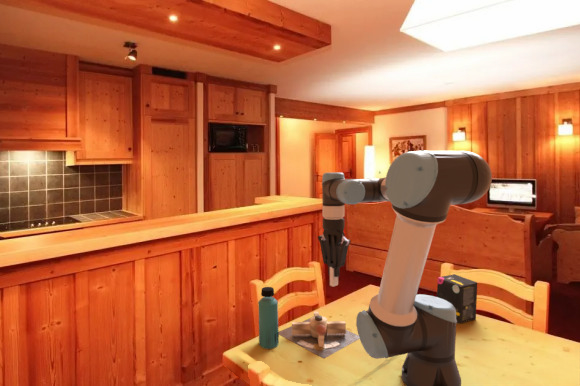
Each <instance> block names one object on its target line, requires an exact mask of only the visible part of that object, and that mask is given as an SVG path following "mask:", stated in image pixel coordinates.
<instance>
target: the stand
mask: <svg viewBox="0 0 580 386" xmlns="http://www.w3.org/2000/svg"><path fill="white" fill-rule="evenodd" d="M302 322H310V318H308V319H305V320H303V321H302ZM278 332H279V336H281V337H282V338H284V339H286V340H289V341H290V342H292V343H294V344H296V345H298V346H299V347H302V348H304V349H305V350H307V351H309V352H310V353H312V354H314V355H316V356H318V357H320V358H322V359H326V358H328V357H329V356H331V355H333V354H335V353H336V352H339V351H341V350H342V349H344V348H346V347H347V346H349V345H351V344H352V343H355V342H356V341H358V340H360V338H359V335H358V333H357V334H356V333H355V332H351V331H349V330H348V329H346V334H327V336H326V337H324V347H319V344H318V339H317V338H315V337H312V336H311V335H310V334H299V335H292V325H291V326H289V327H287V328H283V329H281V330H278Z"/></svg>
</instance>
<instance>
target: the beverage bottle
mask: <svg viewBox="0 0 580 386" xmlns="http://www.w3.org/2000/svg"><path fill="white" fill-rule="evenodd" d="M260 295H261V298H260V299H259V300H258V302H257V305H258V328H257V329H258V344H259V347H261V348H263V349H267V350H271V349H274V348H275V349H276V348H277V347H278V345H279V342H280V340H279V337H280V335H279V328H280V327H279V310H278V307H279V306H278V305H279V304H278V300H277V299H276V298H275V297H274V296H275V290H274V287H272V286H265V287H262V288H261V292H260Z"/></svg>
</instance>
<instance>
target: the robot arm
mask: <svg viewBox="0 0 580 386" xmlns="http://www.w3.org/2000/svg"><path fill="white" fill-rule="evenodd" d="M491 169H492V168H491V167H490V165H489V163H488V162H487V161H486V159H484V157H482V156H481V155H479V154H478V153H475V152H472V151H467V150H426V149H420V150H415V151H406V152H403V153H401V154H400V155H399V156H397V157H396V158H395V159H393V160H392V162H391V164H390V165H389V167H388V170H387V172H386V177H377V178H345V173H344V172H338V171H337V172H324V173H323V174H322V179H321V187H322V188H321V190H322V191H321V192H322V194H321V196H322V197H321V198H322V205H321V206H322V207H321V208H322V215H321V216H322V217H323V218H322V229H323V232H322V234H321V235H318V236H317V240H318V242H319V245H320V251H321V255H322V261H323V264H324V265H325V264H326V265H327V268H328V272H327V273H328V276H329V286H330V287H336V286H338V285H339V277H340V275H341V274H340V268H342V267H344V266H345V265H346V259H347V255H348V254H347V253H348V249H349V245H350V244H351V240H350V239H347V237H346V236H345V232H344V231H345V228H346V226H345V223H346V219H345V218H344V217H345V216H346V215H345V211H346V210H345V205H357V204H359V203H360V204H361V203H373V202H374V203H375V202H376V203H377V202H390V204H391V209H392V210H393V212H394V213H395V214H396V217H395V220H394V226H393V230H392V234H391V237H390V242H389V246H388V250H387V255H386V259H385V263H384V267H383V272H382V276H381V281H380V285H379V289H378V293H377V294H375V295H374V296H373V297H371V299H370V300H369V301H370V302H369V305H368V308H367V310H362V311H359V312H358V313H357V316H356V323H355V325H356V329H357V330H356V331H357V335H359V338H360V339H359V341H360V343H361V345H362V347H363V349H364V351H365V352H366V354H367V355H368V356H370V357H371V358H373V359H377V360H378V359H379V360H380V359H388V358H392V357H397V356H401V355H406V357H405V359H404V361H403V364H402V366H401V379H402V380H401V381H402V382H403V384H404V385H405V386H462V378H461V375H460V371H459V368H458V365H457V361H456V358H455V357H456V340H457V337H456V334H457V320H456V309H455V307H454V306H453V305H452V304H451V303H450V302H448V301H446V300H444V299H441V298H438V297H437V296H434V295H428V294H421V293H419V294H418V290H419V287H420V284H421V280H422V277H423V273H424V269H425V266H426V264H427V263H426V262H427V259H428V256H429V253H430V249H431V245H432V242H433V238H434V234H435V230H436V227H437V225H439V224H442V223H444V222H445V221H446V219H447V217H448V213H449V210H450V207H451V206H453V205H454V206H455V205H464V204H465V205H466V204H470V203H473V202H476V201H478V200H480V199H481V198H483V196H485V195H486V193H487V192H488V191H489V189H490V187H491V185H492V180H493V177H492V176H493V174H492V173H493V172H492V170H491Z"/></svg>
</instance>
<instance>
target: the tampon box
mask: <svg viewBox="0 0 580 386" xmlns="http://www.w3.org/2000/svg"><path fill="white" fill-rule="evenodd" d="M436 287H437V288H436V297H438V298H441V299H444V300H446V301H448V302H450V303H451V304H452V305H453V306H454V307H455V309H456V320H457V323H456V325H460V324H463V323H467V322H470V321H475V320H476V319H477V303H478V301H477V299H478V282H477V281H475V280H472V279H468V278H465V277H464V276H461V275H459V274H458V275H457V274H449V275H448V274H447V275H444V276H443V275H442V276H438V277H437V285H436Z"/></svg>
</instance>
